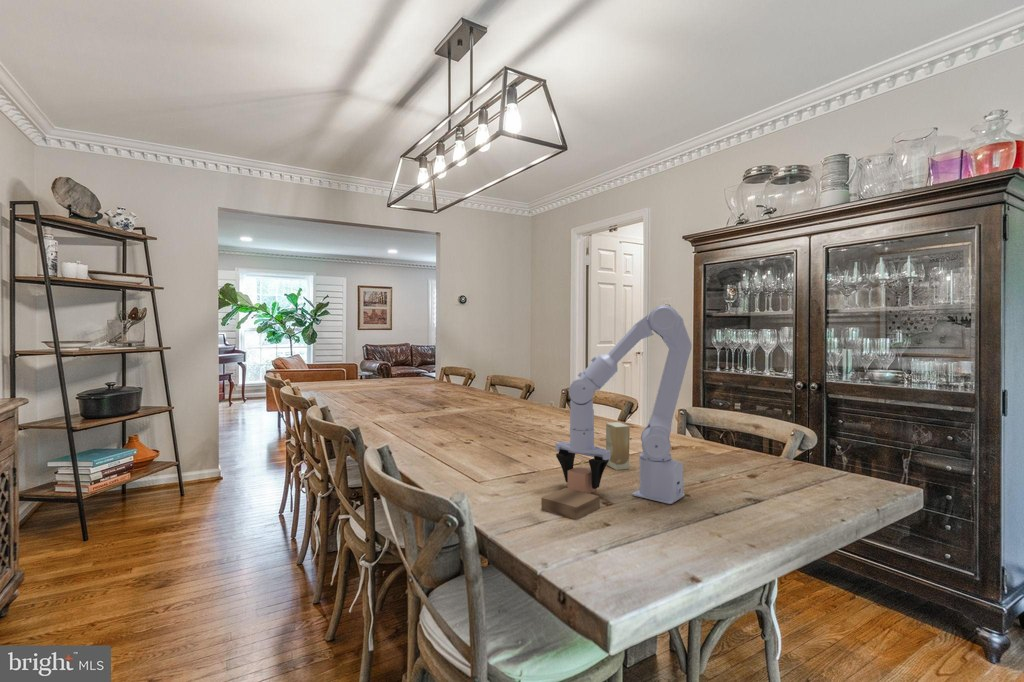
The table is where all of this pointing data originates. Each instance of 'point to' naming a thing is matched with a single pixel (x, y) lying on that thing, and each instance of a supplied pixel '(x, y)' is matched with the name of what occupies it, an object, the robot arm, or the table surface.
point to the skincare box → (618, 445)
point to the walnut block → (570, 503)
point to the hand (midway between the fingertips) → (582, 484)
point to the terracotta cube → (580, 479)
